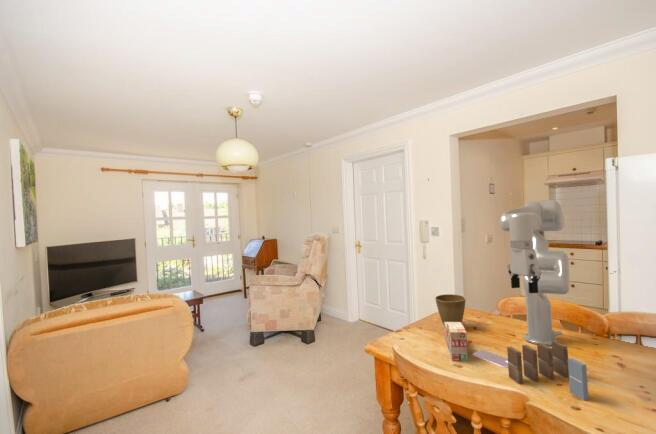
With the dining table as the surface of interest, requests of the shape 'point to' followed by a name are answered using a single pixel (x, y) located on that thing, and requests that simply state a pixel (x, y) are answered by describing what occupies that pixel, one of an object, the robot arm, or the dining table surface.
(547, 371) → the domino
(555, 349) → the domino
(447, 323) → the colourful printed box
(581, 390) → the domino
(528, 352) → the domino
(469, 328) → the dining table surface
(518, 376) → the domino
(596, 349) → the dining table surface
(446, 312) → the plant pot
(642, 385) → the dining table surface
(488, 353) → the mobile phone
